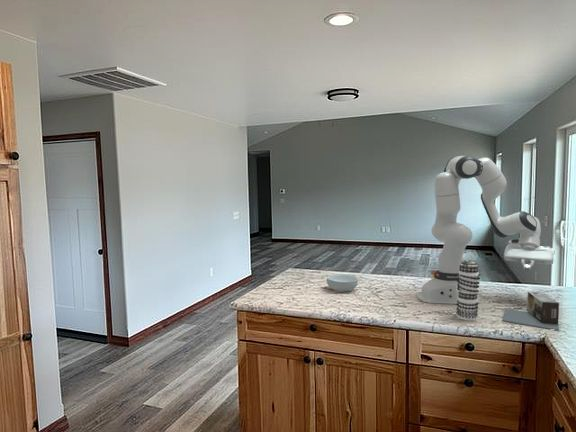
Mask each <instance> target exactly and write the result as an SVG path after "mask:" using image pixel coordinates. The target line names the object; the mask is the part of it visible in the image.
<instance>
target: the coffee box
mask: <svg viewBox="0 0 576 432" xmlns="http://www.w3.org/2000/svg"><path fill="white" fill-rule="evenodd" d="M526 302H527V303H526V312H529V313H530V314H532V315H533V316H534V317H535V318H536V319H538V320H539V321H540V322H541V323H549V324H559V318H560V317H559V316H560V315H559V313H560V303H559V302H558V301H556V300H555V299H553V298H552V297H550V296H549V295H547V294H546V293H544V292H542V291H527V300H526Z"/></svg>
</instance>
